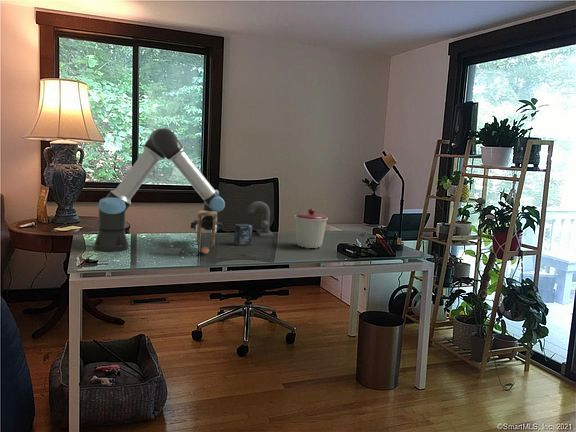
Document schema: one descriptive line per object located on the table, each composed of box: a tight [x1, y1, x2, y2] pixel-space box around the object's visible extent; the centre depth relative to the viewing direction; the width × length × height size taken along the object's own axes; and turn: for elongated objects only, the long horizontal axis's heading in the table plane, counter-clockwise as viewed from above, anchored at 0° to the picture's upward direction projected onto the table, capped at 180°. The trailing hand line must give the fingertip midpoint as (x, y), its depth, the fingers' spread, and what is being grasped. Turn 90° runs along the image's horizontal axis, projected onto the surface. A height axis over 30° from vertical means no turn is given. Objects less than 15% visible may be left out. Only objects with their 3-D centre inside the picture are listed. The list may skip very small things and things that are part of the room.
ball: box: [201, 246, 210, 255], centre depth 236 cm, size 4×4×4 cm
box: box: [233, 223, 253, 246], centre depth 264 cm, size 8×6×11 cm
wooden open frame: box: [196, 209, 217, 247], centre depth 235 cm, size 8×8×16 cm
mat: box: [150, 246, 183, 256], centre depth 236 cm, size 13×13×1 cm
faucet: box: [246, 200, 275, 238], centre depth 297 cm, size 18×16×20 cm
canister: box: [294, 207, 329, 249], centre depth 268 cm, size 18×18×21 cm
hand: (206, 229), depth 230 cm, fingers closed on wooden open frame, 8 cm apart
